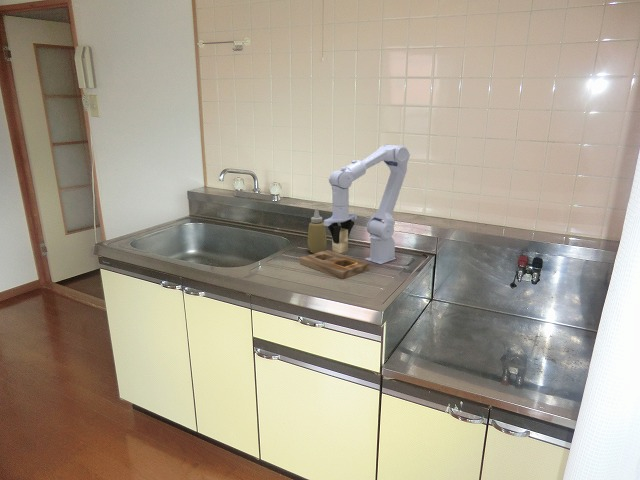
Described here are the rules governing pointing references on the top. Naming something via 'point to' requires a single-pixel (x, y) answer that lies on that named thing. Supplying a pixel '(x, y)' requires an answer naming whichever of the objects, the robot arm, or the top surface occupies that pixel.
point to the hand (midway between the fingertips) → (340, 241)
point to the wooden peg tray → (335, 264)
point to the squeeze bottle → (317, 234)
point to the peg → (341, 242)
